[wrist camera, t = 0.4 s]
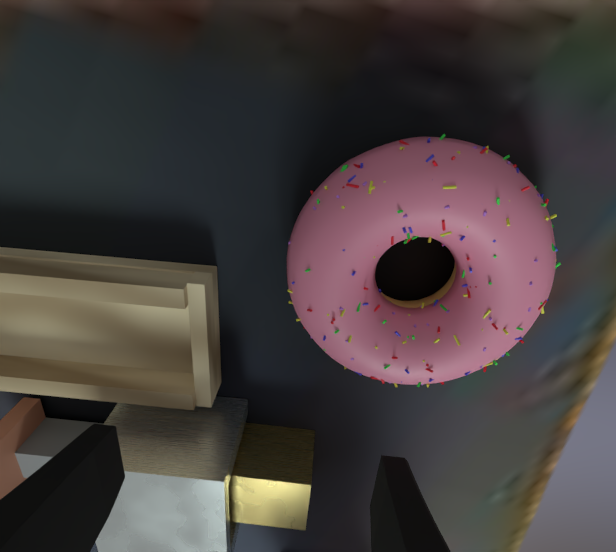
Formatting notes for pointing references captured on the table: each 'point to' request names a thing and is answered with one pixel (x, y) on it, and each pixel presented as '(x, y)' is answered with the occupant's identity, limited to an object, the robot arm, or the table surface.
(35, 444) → the salmon pink block
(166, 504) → the socket sleeve
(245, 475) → the olive rectangular pillar
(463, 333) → the doughnut
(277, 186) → the table surface
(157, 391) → the beige tray
